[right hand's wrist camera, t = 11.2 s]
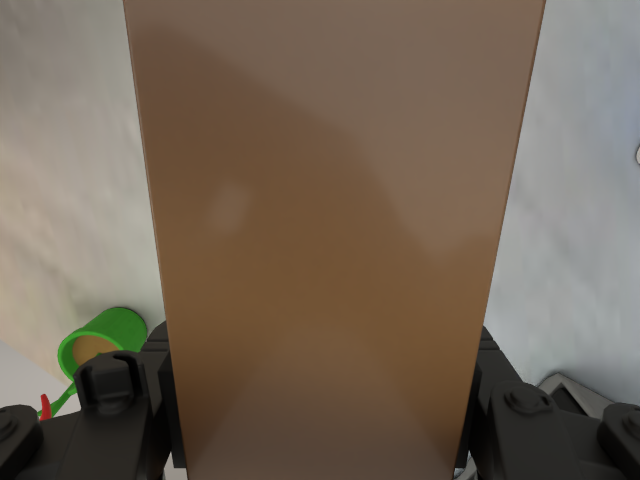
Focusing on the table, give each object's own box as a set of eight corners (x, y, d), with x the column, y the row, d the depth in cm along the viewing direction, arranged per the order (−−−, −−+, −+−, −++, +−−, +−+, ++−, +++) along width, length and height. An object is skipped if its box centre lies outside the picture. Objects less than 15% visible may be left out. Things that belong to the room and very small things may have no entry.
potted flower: (127, 287, 47) (-65, 479, 24) (171, 334, 50) (34, 552, 26) (70, 324, 49) (-159, 537, 26) (115, 368, 52) (-59, 600, 28)
